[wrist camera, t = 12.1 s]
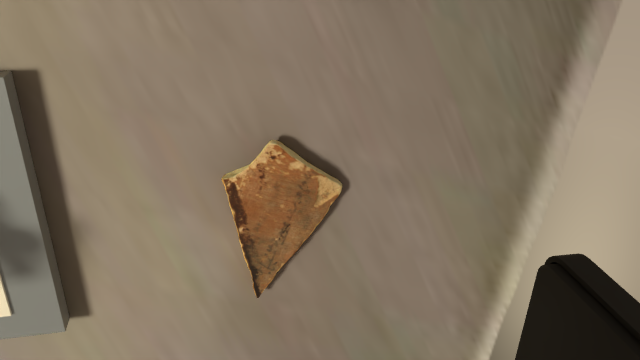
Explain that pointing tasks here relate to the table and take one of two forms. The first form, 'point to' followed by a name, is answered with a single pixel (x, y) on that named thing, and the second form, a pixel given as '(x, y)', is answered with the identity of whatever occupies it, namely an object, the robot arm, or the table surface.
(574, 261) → the robot arm
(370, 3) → the table surface
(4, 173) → the base plate
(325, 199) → the shard
